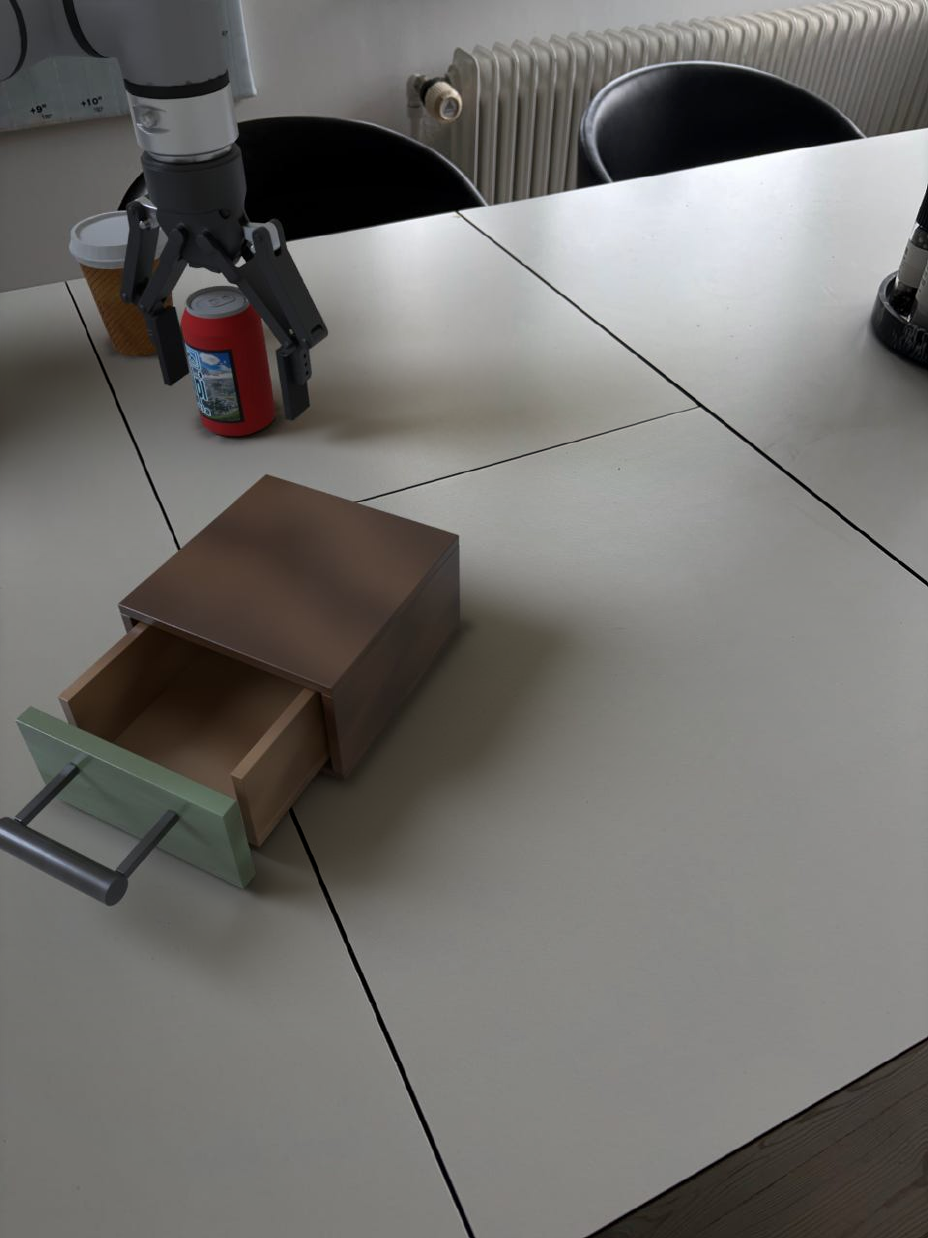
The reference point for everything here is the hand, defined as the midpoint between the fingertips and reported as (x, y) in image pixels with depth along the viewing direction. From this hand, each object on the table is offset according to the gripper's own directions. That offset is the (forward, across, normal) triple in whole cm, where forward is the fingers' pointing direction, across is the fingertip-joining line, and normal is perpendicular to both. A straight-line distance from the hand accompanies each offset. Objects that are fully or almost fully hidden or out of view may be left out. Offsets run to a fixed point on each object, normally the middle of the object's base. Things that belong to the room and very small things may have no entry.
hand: (236, 395), depth 91 cm
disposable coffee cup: (+3, -18, +8) cm, 20 cm away
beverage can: (+3, 0, 0) cm, 3 cm away
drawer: (+2, +23, -36) cm, 43 cm away
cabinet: (+3, +23, -23) cm, 33 cm away
